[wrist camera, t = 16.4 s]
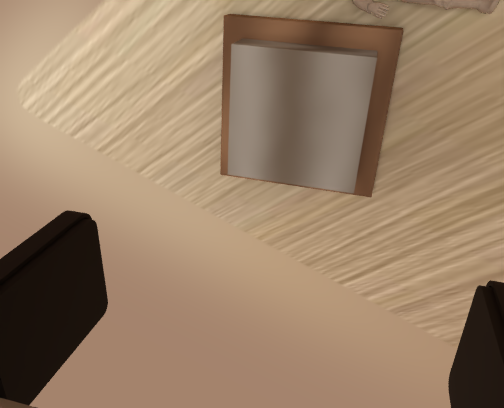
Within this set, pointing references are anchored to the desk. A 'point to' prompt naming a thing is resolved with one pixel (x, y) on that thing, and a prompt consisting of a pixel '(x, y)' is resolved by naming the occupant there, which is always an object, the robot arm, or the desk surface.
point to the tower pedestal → (306, 101)
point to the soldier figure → (484, 3)
